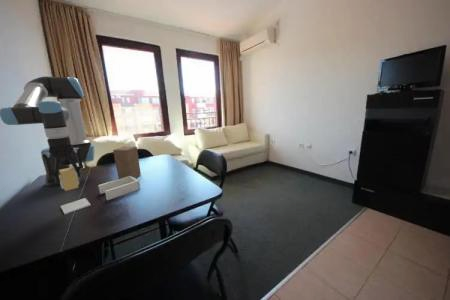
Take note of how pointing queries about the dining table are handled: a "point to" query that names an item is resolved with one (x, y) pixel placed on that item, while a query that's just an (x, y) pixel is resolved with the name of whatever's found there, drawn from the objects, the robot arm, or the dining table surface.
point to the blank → (69, 178)
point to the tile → (75, 206)
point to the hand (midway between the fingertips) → (70, 185)
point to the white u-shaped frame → (119, 187)
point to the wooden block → (127, 162)
